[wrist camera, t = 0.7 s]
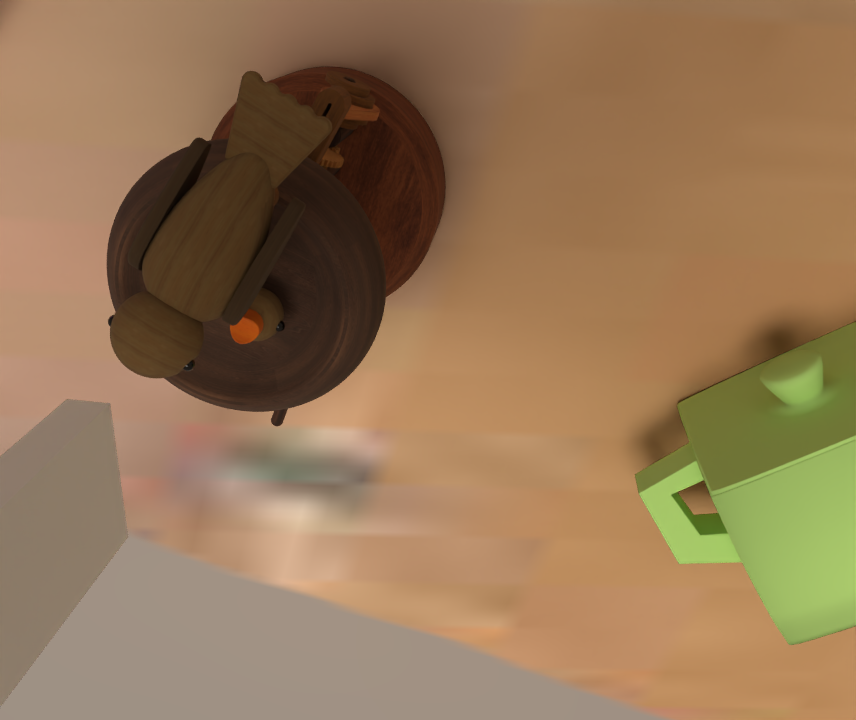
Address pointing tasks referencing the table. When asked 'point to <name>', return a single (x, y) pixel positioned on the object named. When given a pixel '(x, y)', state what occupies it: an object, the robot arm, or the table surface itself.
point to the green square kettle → (773, 483)
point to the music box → (275, 241)
